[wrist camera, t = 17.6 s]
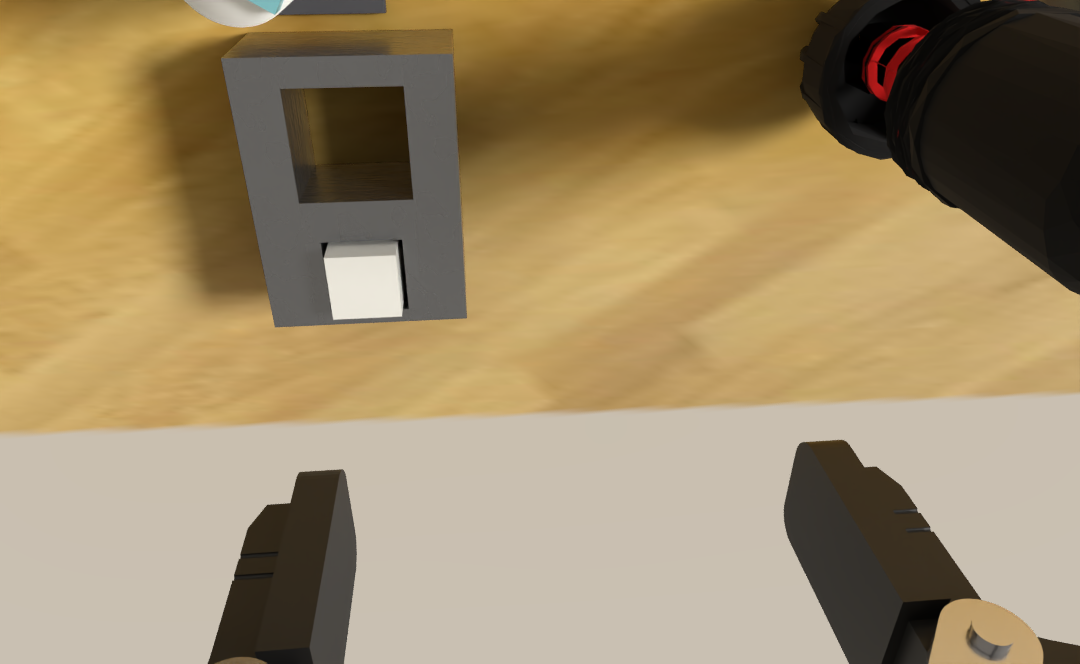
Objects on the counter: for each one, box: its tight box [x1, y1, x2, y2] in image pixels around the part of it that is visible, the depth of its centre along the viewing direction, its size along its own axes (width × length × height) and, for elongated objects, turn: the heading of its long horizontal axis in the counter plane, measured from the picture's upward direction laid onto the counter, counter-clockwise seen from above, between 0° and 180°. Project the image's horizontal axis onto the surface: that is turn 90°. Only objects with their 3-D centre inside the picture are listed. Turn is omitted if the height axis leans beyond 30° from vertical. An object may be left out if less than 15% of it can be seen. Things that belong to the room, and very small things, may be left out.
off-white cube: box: [324, 240, 406, 320], centre depth 46 cm, size 4×4×5 cm
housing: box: [221, 29, 467, 327], centre depth 45 cm, size 15×11×6 cm
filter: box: [800, 0, 1080, 295], centre depth 34 cm, size 14×9×30 cm
